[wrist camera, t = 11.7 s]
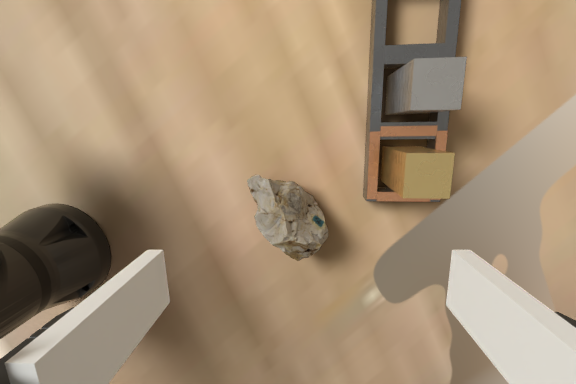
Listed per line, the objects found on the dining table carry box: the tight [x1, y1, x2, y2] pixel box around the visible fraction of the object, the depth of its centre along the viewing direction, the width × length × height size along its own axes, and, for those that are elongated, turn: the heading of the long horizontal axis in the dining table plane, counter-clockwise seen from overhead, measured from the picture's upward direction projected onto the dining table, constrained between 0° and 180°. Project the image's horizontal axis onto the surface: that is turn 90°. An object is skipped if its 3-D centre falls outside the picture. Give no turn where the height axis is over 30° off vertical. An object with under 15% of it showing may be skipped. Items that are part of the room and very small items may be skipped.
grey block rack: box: [363, 0, 461, 202], centre depth 35 cm, size 9×26×3 cm, turn 1°
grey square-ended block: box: [385, 57, 467, 115], centre depth 31 cm, size 4×4×10 cm
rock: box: [247, 175, 328, 261], centre depth 37 cm, size 12×7×10 cm, turn 31°
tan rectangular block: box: [381, 146, 455, 199], centre depth 33 cm, size 4×4×10 cm
